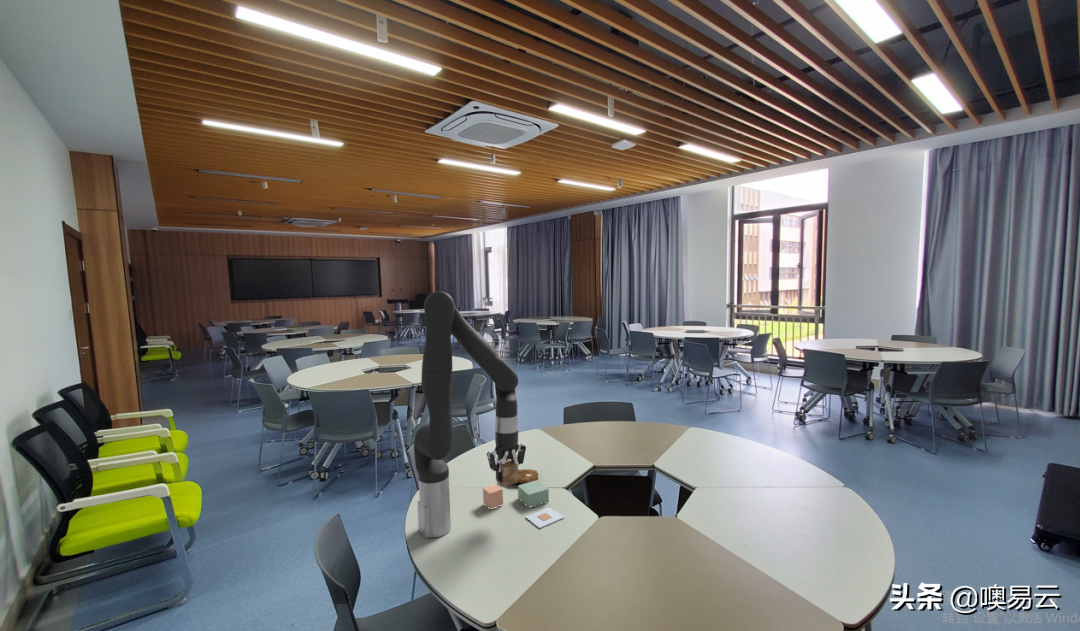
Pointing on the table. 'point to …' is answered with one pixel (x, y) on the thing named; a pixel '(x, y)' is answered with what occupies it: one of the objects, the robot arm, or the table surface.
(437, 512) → the robot arm
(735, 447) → the table surface
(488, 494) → the terracotta block
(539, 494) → the base block
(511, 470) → the walnut block
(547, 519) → the card
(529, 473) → the decorative rock
